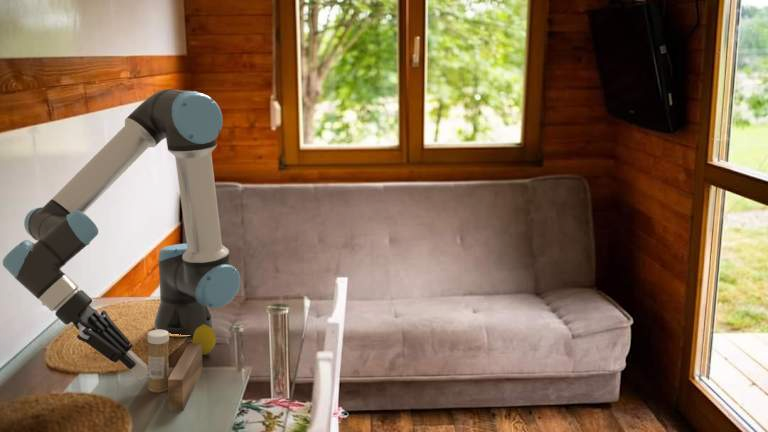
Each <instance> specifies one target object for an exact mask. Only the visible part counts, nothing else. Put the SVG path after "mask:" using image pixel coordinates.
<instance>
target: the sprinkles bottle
mask: <svg viewBox="0 0 768 432" xmlns="http://www.w3.org/2000/svg"><path fill="white" fill-rule="evenodd" d="M146 337H147V339H146V341H147V344H148V346H147V347H148V349H147V350H148V351H147V366H148V371H149V373H148V374H147V376H148V387H147V389H148V390H149V392H151V393H157V394H158V393H159V394H160V393H163V392H167V391H168V378H169V376H170V374H169V365H170V364H169V340H170V337H169V333H168V331H166V330H155V329H153V330H150V331H148V332H147V336H146Z"/></svg>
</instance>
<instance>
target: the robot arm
mask: <svg viewBox="0 0 768 432" xmlns="http://www.w3.org/2000/svg"><path fill="white" fill-rule="evenodd" d="M222 128H223V114H222V110H221V108H220V106H219V104H218V103H217V102H216V101H215V100H214V99H213V98H212V97H210V96H209V95H207V94H204V93H201V92H200V91H194V90H183V89H175V88H167V89H162V90H159V91H156V92H155V93H153V94H152V95H150V96H148V97H147V98H146V99H145V100H144V101H143V102H141V103H140V104H139V105H138V106H137V107H136V108H135V109H134V110H133V111H132V112H131V113H130V114H129V115H128V116H127V117H126V118H125V119H124V126H123V127H122V128H121V129H119V131H118V132H117V133H116V134H115V135H114V136H113V137H112V138H111V139H110V140H109V141H108V142H107V143H106V144H105V145H103V147H102V148H101V149H100V150H99V151H98V152H97V153H96V154H95V155H93V157H92V158H91V159H90V160H89V161H88V162H87V163H86V164H85V165H84V166H83V167H82V168H81V169H80V170H79V171H78V172H77V173H76V174H75V175H74V176H73V177H71V179H70V180H69V181H68V182H67V183H66V184H65V185H64V186H63V187H62V188H61V189H60V190H59V191H58V192H57V193H56V194H55V195H54V196H53V197H52V198H51V199H50V200H49V201H48V202H47V203H46V204H45V205H44V206H42V207H36V208H34V209H31V210H30V211H29V212H28V213H27V214H26V216H25V218H24V223H23V224H24V225H23V226H24V229H25V231H26V233H27V234H28V235H29V236H30V237H32V238H33V240H35V241H36V242H35V243H34V242H32V241H31V240H30V239H24V240H23V241H21V242H20V243H19V244H17V245H16V246H14V247H13V248H12V249H11V250H10V251H9V252H8V253H7V254H5V256H4V258H3V259H2V266H3V267H4V268H5V269H6V270H7V271H8V272H9V274H10V275H12V277H13V278H14V280H16V281H17V282H19V283H20V284H21V286H23V287H24V288H26V290H27V291H29V292H30V293H31V294H32V296H34V297H35V298H36V299H38V300H39V301H40V302H41V304H42V305H43V306H45V307H47V309H48V310H49V311H51V312H53V311H55V317H57V318H58V319H59V320H60V321H61V322H62V323H63V324H64V325H69V324H70V323H72V324H73V326H75V328H76V329H77V330H78V331H79V334H77V335H76V338H77V339H78V340H80V341H82V342H84V343H86V344H88V346H90V347H91V348H93V349H94V350H95V351H97V352H98V353H99V354H101V355H103V356H104V357H105V358H106V359H108V360H109V361H111V362H113V363H115V364H116V363H118V362H119V361H120V363H122V364H123V365H124V366H125V367H126V368H127V369H129V371H130V372H131V373H133V374H134V375H135V377H137V378H138V379H139V380H140V381H142V380H143V379H144V378H145V377H146V376H148V373H149V371H148V364H146V363H145V362H144V361H143V360H142V359H141V358H140V357H139V356H138V355H137V354H136V353H135V352H133V350H131V349H132V347H133V344H132V343H131V341H130V340H129V339H128V338H127V336H126V335H125V334H124V333H123V332H122V331H121V329H120V328H119V327H118V326H117V324H116V323H115V322H114V321H113V320H112V319H111V318H110V316H109V314H108V312H107V311H105V310H102V311H101V312H98V311H97V310H96V309H95V308H94V307H92V306H90V305H91V304H92V303H93V299H92V298H91V297H90V295H88V294H87V293H86V292H85V291H83V289H82V290H81V289H79V286H78V284H77V283H76V282H74V281H73V280H72V279H71V278H70V277H69V276H68V275H67V274H65V272H64V271H63V270H62V268H63V267H64V266H66V264H67V263H68V262H69V261H70V260H72V259H73V258H74V257H75V256H77V254H78V253H80V252H81V251H82V250H83V249H85V248H86V247H87V246H89V245H90V243H91V242H92V241H93V240H94V239H95V238H96V237H97V236H98V234H99V227H97V225H96V224H95V223H94V221H93V220H92V219H91V218H90V217H89V216H88V215H86V214H85V213H86V211H88V210H89V208H90V207H92V206H93V204H95V203H96V201H97V200H98V199H99V198H100V197H102V195H103V194H104V193H105V192H106V191H107V190H108V189H109V188H110V187H111V186H112V185H113V184H114V183H115V182H116V181H117V180H118V179H120V177H121V176H122V175H123V174H124V173H125V172H126V170H128V169H129V168H130V167H131V166H132V165H133V163H135V162H136V161H137V160H138V158H140V157H141V155H143V154H144V152H145V151H146V150H147V149H148V148H155V147H156V146H157V145H158V144H159V143H161V141H163V140H164V139H166V140H165V141H166V148H167V151H168V152H169V153H171V154H172V155H173V156H174V157H175V165H176V166H175V167H176V171H177V179H178V186H179V195H180V202H181V203H180V204H181V210H182V217H183V218H182V219H183V224H184V232H185V233H184V234H185V240H186V243H177V244H173V245H172V244H171V245H167V246H164V247H163V248H161V249H160V250H159V252H158V261H157V262H158V274H159V278H158V279H159V295H160V296H159V297H160V301H159V306H158V307H157V308H158V309H157V313H156V315H155V318H154V329H155V328H156V329H157V330H166V331H168V333H171V334H179V335H180V334H181V335H194V332H195V330H196V329H197V328H198V327H200V326H202V325H203V324H205V325H207V326H209V327H211V328H212V329H213V317H212V314H211V311H210V309H211V308H212V309H219V308H222V307H225V306H226V305H228V304H230V303H231V302H232V301H233V300H234V298H235V297H236V295H238V293H239V290H240V288H241V287H240V286H241V276H240V273H239V271H238V269H237V268H236V267H235V266H234V265H232V264H231V258H230V257H231V256H230V249H229V248H227V247H226V246H224V245H223V242H222V233H221V232H222V231H221V225H220V216H219V207H218V199H217V191H216V182H215V173H214V164H213V156H212V152H213V151H214V150H215V148H216V147H217V146H218V144H217V137H218V136H219V133H220V132H221V131H222ZM209 308H210V309H209Z"/></svg>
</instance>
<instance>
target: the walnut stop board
mask: <svg viewBox="0 0 768 432" xmlns="http://www.w3.org/2000/svg"><path fill="white" fill-rule="evenodd" d="M202 374H203V354H202V344H201V343H193V342H191V343H190V342H189V343H188V344H187V345H186V348H185V350H184V351H183V352H182V355H181V356H180V358H179V360H178V361H177V363H176V364H175V366H174V368H173V370H172V371H171V373H170V374H169V375H168V390H167V393H168V394H167V395H168V399H167V401H168V410H169V411H184V409H185V408H186V406H187V404H188V402H189V400H190V397H191V395H192V393H193V391H194V389H195V387H197V386H196V385H197V384H198V381H199V380H200V378H201V375H202Z"/></svg>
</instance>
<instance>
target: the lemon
mask: <svg viewBox="0 0 768 432" xmlns="http://www.w3.org/2000/svg"><path fill="white" fill-rule="evenodd" d="M216 340H217V339H216V333H215V331H214V329H213V327H212V328H211V327H209V326H207V325H205V324H203V325H202V326H200V327H198V328H197V329H196V330H195V332H194V335H193V336H192V343H201V344H202V356H206V355H207V354H208V353H210V352H212V351H213V350H214V348H215V346H216V342H217V341H216Z"/></svg>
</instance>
